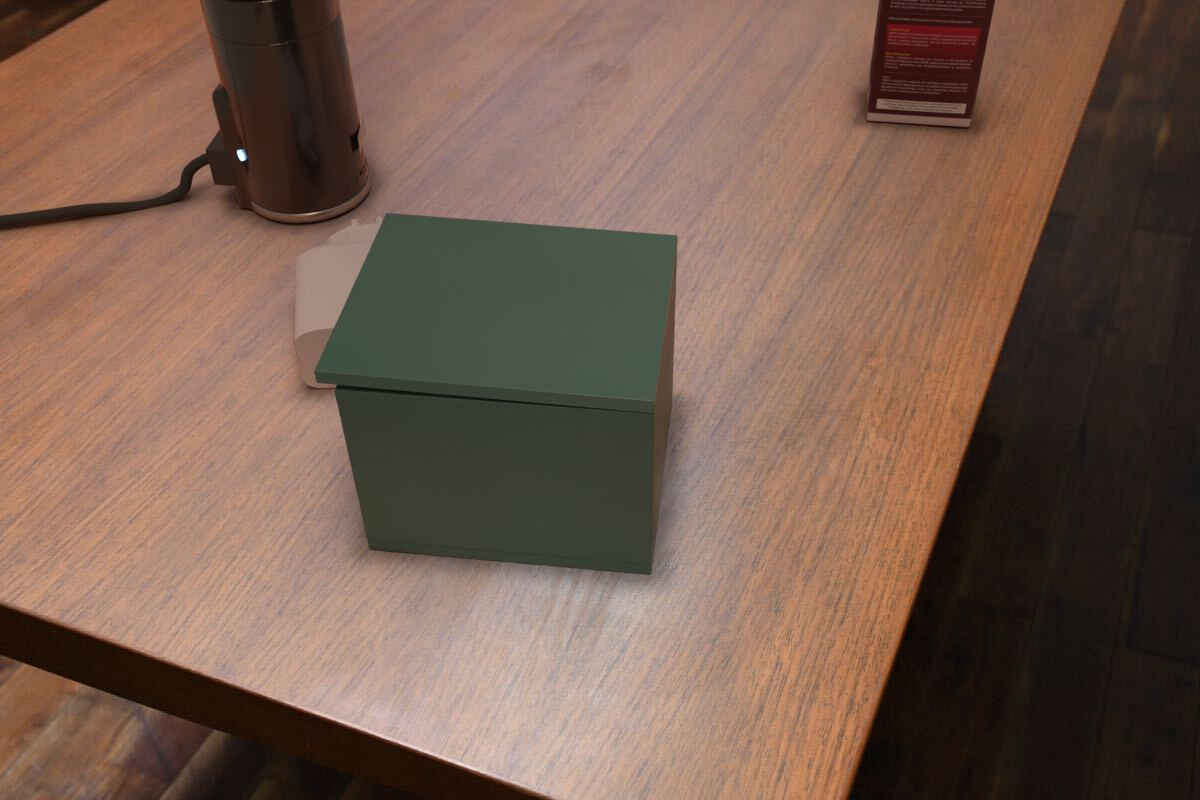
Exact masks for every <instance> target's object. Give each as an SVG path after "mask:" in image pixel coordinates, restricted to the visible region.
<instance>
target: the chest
mask: <svg viewBox="0 0 1200 800" xmlns="http://www.w3.org/2000/svg"><path fill="white" fill-rule="evenodd" d="M677 267H678V251H677V252H676V259H675V266H674V273H673V281H672V288H671V295H670V302H669V310H668V317H667V324H666V331H665V339H664V346H663V353H662V360H661V368H660V375H659V382H658V389H657V397H656V404H655V411H654V413H644V412H633V411H622V410H611V409H600V408H589V407H578V406H567V405H556V404H545V403H534V402H523V401H511V400H500V399H489V398H478V397H467V396H456V395H445V394H434V393H423V392H412V391H401V390H390V389H378V388H367V387H356V386H345V385H337V386H336V387H335V388H334V390H333V391H334V395H335V400H336V404H337V409H338V414H339V418H340V422H341V428H342V432H343V436H344V441H345V445H346V450H347V454H348V458H349V464H350V468H351V473H352V477H353V482H354V486H355V490H356V496H357V499H358V504H359V509H360V513H361V517H362V523H363V526H364V531H365V535H366V540H367V545H368V549H369V550H371V551H373V550H375V551H383V552H384V551H385V552H397V553H405V554H407V553H408V554H419V555H428V556H430V555H431V556H440V557H441V556H442V557H451V558H452V557H453V558H463V559H475V560H486V561H498V562H509V563H520V564H531V565H542V566H553V567H563V568H565V567H566V568H577V569H586V570H597V571H610V572H620V573H621V572H622V573H632V574H633V573H634V574H643V575H651V574H652V571H653V563H654V554H655V548H656V547H655V545H656V538H657V529H658V523H659V522H658V521H659V515H660V514H659V513H660V506H661V498H662V489H663V480H664V473H665V466H666V457H667V449H668V441H669V432H670V424H671V417H672V409H673V390H674V389H673V388H674V386H673V385H674V358H675V357H674V355H675V331H676V330H675V328H676V327H675V326H676V301H677V298H676V297H677V295H676V294H677V269H678V268H677Z"/></svg>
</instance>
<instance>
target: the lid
mask: <svg viewBox="0 0 1200 800" xmlns="http://www.w3.org/2000/svg"><path fill="white" fill-rule="evenodd" d="M678 239H679V236H678V235H677V234H665V233H664V234H663V233H654V232H653V233H652V232H639V231H627V230H616V229H615V230H613V229H602V228H601V229H600V228H588V227H577V226H575V227H574V226H562V225H549V224H536V223H523V222H522V223H521V222H512V221H511V222H510V221H495V220H485V219H473V218H472V219H469V218H460V217H459V218H457V217H443V216H433V215H432V216H431V215H418V214H405V213H394V212H393V213H392V212H386V213H385V215H384V217H383V222H382V224H381V226H380V228H379V230H378V232H377V235H376V237H375V239H374V241H373V243H372V246H371V248H370V250H369V252H368V254H367V256H366V259H365V261H364V263H363V265H362V267H361V270H360V272H359V274H358V276H357V278H356V281H355V283H354V285H353V287H352V289H351V291H350V294H349V296H348V298H347V300H346V302H345V305H344V307H343V309H342V311H341V313H340V315H339V318H338V320H337V322H336V324H335V326H334V329H333V331H332V333H331V335H330V337H329V340H328V342H327V344H326V346H325V348H324V350H323V353H322V355H321V357H320V359H319V361H318V364H317V366H316V368H315V370H314V373H315V378H316V382H317V383H323V384H334V385H345V386H356V387H367V388H378V389H390V390H401V391H412V392H423V393H434V394H445V395H456V396H467V397H478V398H489V399H500V400H511V401H523V402H534V403H545V404H556V405H567V406H578V407H589V408H600V409H611V410H622V411H633V412H644V413H654V411H655V404H656V397H657V389H658V382H659V375H660V368H661V360H662V353H663V346H664V339H665V331H666V324H667V317H668V310H669V302H670V295H671V288H672V281H673V273H674V266H675V259H676V252H677V253H678V241H679V240H678Z"/></svg>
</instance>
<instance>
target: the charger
mask: <svg viewBox="0 0 1200 800" xmlns="http://www.w3.org/2000/svg"><path fill="white" fill-rule="evenodd" d="M383 219H384V217H382V216H380V215H378V216H376V217H375V218H374V221H375V222H374V223H365V224H359V220H358V219H356V218H353V219H351V220H350V225H347V226H346V227H344V228H343V229H340V230H339V231H337V232H335V233H333V234H332V235H330V237H329V238H328V239H327V240H326V244H322V245H317V246H314V247H312V248H309V249H307V250H305V251H303V252H301V253H299V255H298V256H296V259H295V295H294V297H295V298H294V349H295V352H296V356H297V361H298V364H299V368H300V373H301V377H302V381H303V382H304V384H305V385H307V386H309V387H311V388H316V389H335V388H336V386H337V385H334V384H323V383H317V382H316V378H315V373H314V370H315V368H316V366H317V364H318V361H319V359H320V357H321V355H322V353H323V350H324V348H325V346H326V344H327V342H328V340H329V337H330V335H331V333H332V331H333V329H334V326H335V324H336V322H337V320H338V318H339V315H340V313H341V311H342V309H343V307H344V305H345V302H346V300H347V298H348V296H349V294H350V291H351V289H352V287H353V285H354V283H355V281H356V278H357V276H358V274H359V272H360V270H361V267H362V265H363V263H364V261H365V259H366V256H367V254H368V252H369V250H370V248H371V246H372V243H373V241H374V239H375V237H376V235H377V232H378V230H379V228H380V226H381V224H382V222H383Z"/></svg>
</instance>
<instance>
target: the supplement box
mask: <svg viewBox="0 0 1200 800" xmlns="http://www.w3.org/2000/svg"><path fill="white" fill-rule="evenodd" d="M995 3H996V0H878V4H877V5H878V6H877V14H876V21H875V28H874V36H873V42H872V43H873V44H872V51H871V58H870V66H869V67H870V68H869V72H868V73H869V74H868V82H867V89H866V121H867V122H882V123H898V124H914V125H930V126H931V125H932V126H942V127H943V126H944V127H945V126H946V127H958V128H969V127H970V126H971V123H972V118H973V114H974V110H975V105H976V100H977V95H978V90H979V85H980V81H981V75H982V70H983V65H984V60H985V55H986V50H987V45H988V40H989V35H990V30H991V24H992V19H993V15H994V9H995Z"/></svg>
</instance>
